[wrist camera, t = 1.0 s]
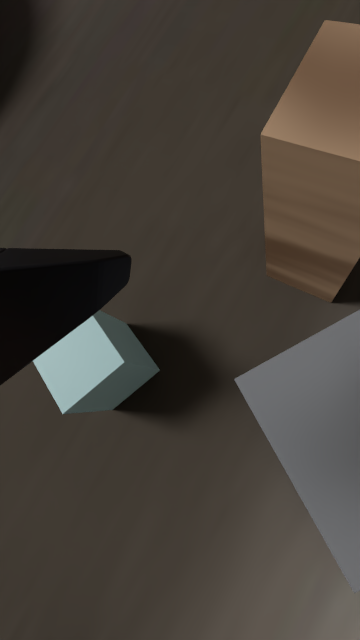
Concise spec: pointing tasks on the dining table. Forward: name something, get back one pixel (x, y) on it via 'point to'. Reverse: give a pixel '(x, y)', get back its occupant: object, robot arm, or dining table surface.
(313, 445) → the baseplate
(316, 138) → the walnut block
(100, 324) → the teal block
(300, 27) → the dining table surface
